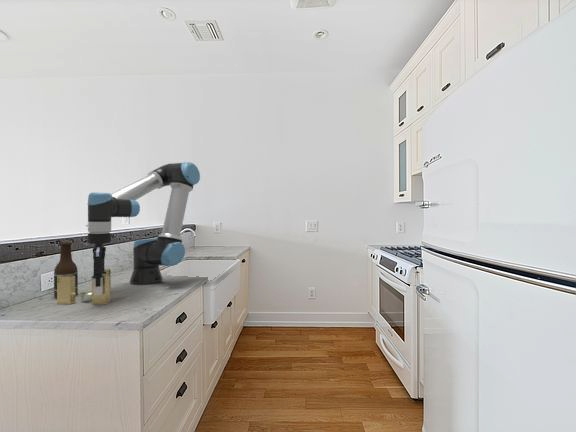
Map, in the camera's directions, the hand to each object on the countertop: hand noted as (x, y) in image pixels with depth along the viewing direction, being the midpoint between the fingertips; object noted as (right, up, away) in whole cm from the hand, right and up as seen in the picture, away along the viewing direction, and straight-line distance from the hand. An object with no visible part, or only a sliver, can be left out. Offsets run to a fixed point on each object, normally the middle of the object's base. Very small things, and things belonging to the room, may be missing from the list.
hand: (99, 292), depth 109 cm
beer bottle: (-20, -5, +9) cm, 23 cm away
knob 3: (-6, -4, +12) cm, 14 cm away
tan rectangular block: (-13, -4, 0) cm, 14 cm away
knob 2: (+1, -4, 0) cm, 4 cm away
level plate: (-6, -5, +4) cm, 9 cm away
